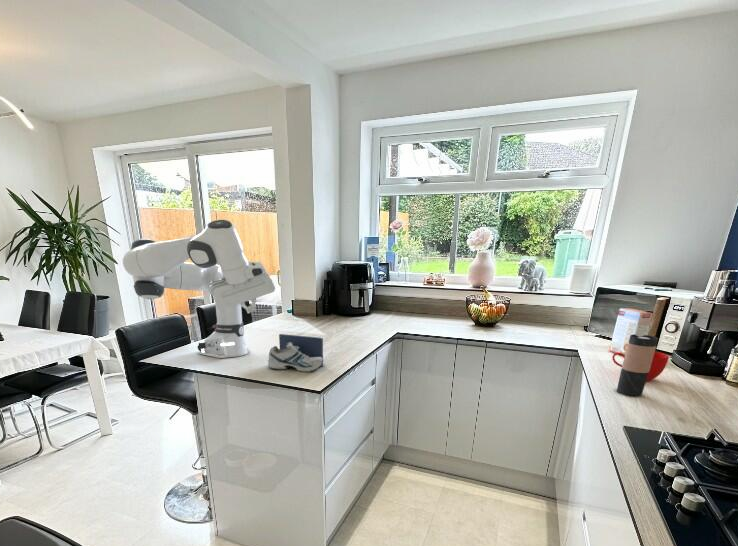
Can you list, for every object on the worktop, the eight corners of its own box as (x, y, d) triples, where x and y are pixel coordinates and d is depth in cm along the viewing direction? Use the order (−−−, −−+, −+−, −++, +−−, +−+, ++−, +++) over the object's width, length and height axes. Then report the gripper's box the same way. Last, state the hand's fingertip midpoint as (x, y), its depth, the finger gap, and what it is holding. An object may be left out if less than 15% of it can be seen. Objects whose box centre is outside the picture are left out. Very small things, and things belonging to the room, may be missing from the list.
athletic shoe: (323, 371, 157) (322, 341, 156) (265, 372, 158) (264, 342, 156) (324, 370, 167) (323, 341, 166) (269, 370, 168) (269, 342, 166)
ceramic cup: (609, 369, 164) (614, 346, 160) (660, 377, 154) (668, 352, 151) (607, 377, 154) (613, 352, 150) (662, 386, 145) (670, 360, 141)
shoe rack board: (280, 361, 172) (279, 334, 168) (281, 360, 173) (280, 333, 169) (321, 366, 165) (321, 338, 161) (323, 365, 167) (323, 337, 163)
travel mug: (634, 398, 133) (650, 340, 126) (610, 391, 139) (625, 335, 133) (647, 394, 136) (663, 338, 130) (623, 388, 143) (637, 333, 136)
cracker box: (641, 359, 179) (654, 312, 172) (628, 359, 179) (640, 312, 172) (620, 351, 192) (632, 307, 185) (608, 351, 192) (619, 307, 185)
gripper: (206, 287, 122) (223, 325, 131) (269, 266, 126) (281, 305, 134) (204, 280, 127) (220, 318, 136) (265, 260, 131) (277, 298, 139)
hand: (251, 311), depth 135 cm, fingers closed
